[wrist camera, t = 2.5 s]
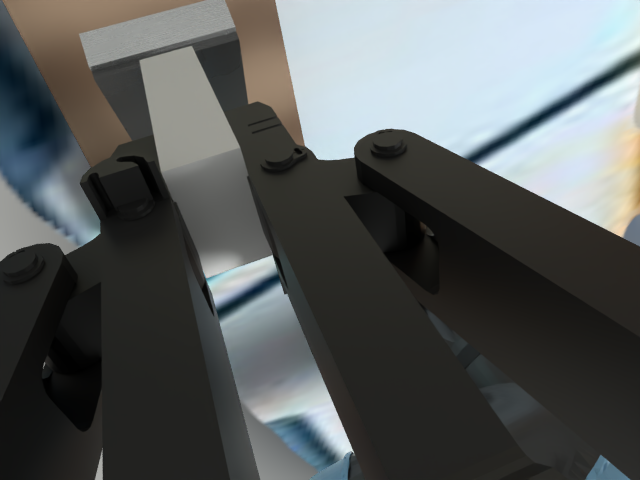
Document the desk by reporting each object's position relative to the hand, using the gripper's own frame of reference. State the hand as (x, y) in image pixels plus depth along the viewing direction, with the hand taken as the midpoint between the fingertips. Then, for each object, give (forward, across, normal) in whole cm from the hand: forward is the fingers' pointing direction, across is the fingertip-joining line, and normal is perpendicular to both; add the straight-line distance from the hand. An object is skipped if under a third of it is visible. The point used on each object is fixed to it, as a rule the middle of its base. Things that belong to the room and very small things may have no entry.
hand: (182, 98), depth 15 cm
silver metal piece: (+7, 0, +5) cm, 9 cm away
